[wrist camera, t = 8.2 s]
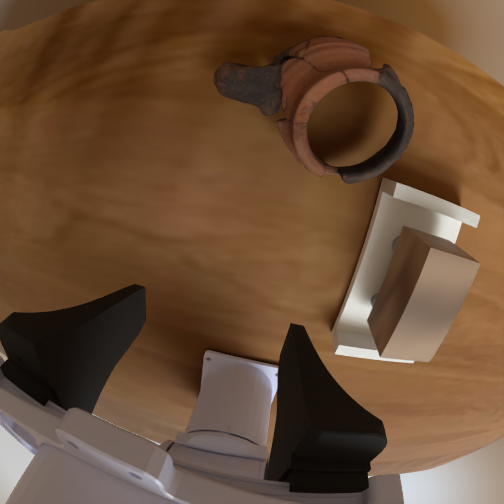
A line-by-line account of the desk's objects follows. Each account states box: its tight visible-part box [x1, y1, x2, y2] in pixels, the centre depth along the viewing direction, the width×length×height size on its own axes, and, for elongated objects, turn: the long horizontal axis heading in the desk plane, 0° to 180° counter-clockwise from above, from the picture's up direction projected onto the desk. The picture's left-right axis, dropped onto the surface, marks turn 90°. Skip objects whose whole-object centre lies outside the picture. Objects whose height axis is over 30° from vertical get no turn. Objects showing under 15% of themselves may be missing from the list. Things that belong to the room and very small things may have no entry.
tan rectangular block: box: [367, 226, 480, 362], centre depth 17 cm, size 8×4×4 cm, turn 169°
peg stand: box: [331, 178, 480, 363], centre depth 20 cm, size 14×8×3 cm, turn 169°
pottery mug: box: [214, 36, 414, 184], centre depth 15 cm, size 12×10×8 cm
